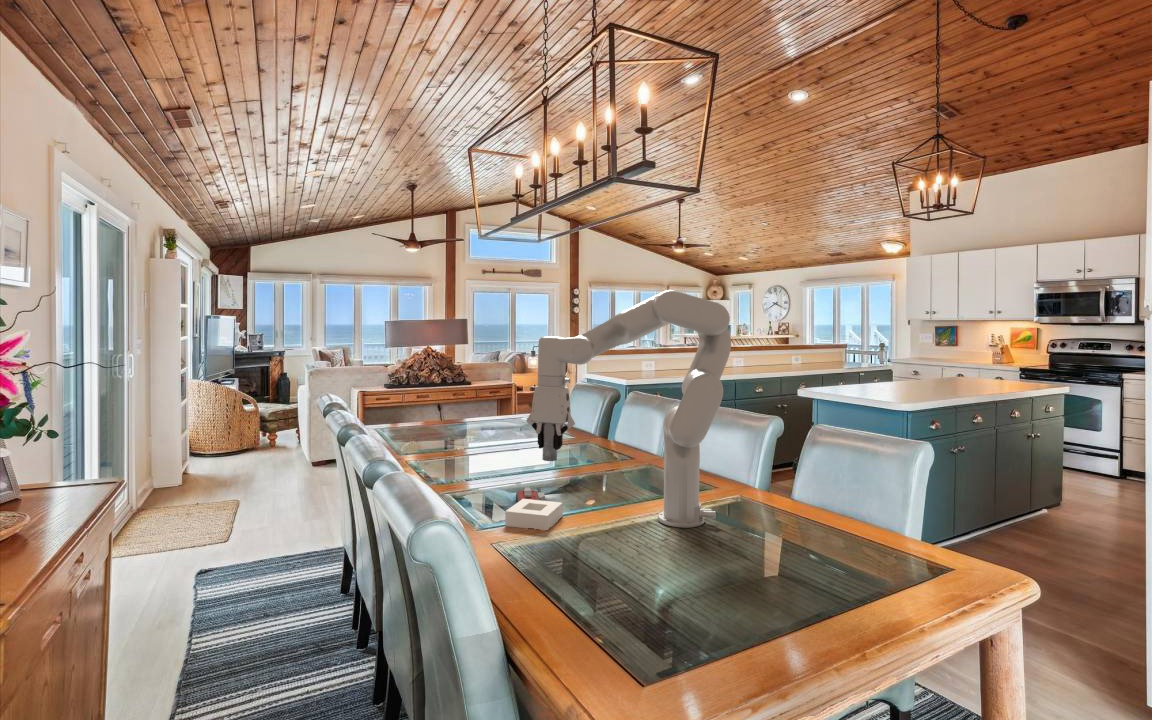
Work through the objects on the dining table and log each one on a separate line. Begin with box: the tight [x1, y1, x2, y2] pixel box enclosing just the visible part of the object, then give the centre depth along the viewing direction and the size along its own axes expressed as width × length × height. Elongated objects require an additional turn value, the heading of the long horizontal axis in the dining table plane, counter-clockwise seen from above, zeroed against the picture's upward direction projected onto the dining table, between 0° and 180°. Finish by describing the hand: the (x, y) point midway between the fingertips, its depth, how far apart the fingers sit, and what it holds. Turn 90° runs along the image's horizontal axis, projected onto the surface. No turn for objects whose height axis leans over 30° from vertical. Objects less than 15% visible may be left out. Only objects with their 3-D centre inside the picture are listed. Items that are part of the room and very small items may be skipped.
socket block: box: [504, 499, 564, 531], centre depth 163 cm, size 12×12×4 cm
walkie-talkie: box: [515, 486, 546, 503], centre depth 182 cm, size 9×4×20 cm
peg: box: [541, 423, 558, 462], centre depth 164 cm, size 4×4×12 cm
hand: (549, 447), depth 164 cm, fingers closed on peg, 4 cm apart
